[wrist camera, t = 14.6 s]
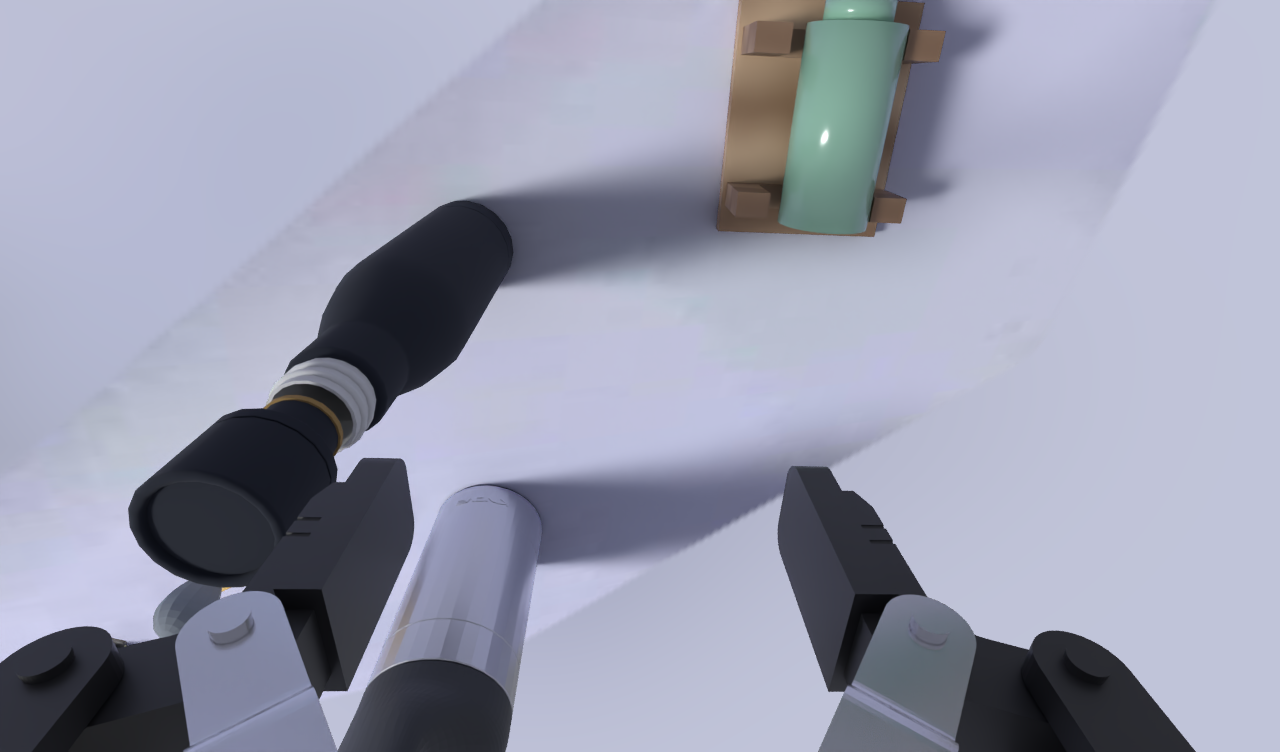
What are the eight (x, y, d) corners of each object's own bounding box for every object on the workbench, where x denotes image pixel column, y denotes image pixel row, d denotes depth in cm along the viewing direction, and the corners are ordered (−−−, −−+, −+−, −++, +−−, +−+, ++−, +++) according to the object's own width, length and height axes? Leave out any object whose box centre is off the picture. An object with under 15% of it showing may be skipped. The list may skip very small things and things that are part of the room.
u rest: (868, 233, 43) (898, 251, 38) (716, 227, 42) (728, 245, 38) (917, 4, 37) (958, -6, 32) (739, -6, 36) (756, -18, 32)
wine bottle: (526, 225, 42) (365, 483, 15) (495, 304, 44) (307, 649, 17) (437, 184, 40) (77, 386, 13) (409, 268, 43) (59, 582, 16)
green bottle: (840, 216, 41) (883, 234, 36) (764, 215, 40) (798, 233, 35) (896, -78, 34) (960, -104, 29) (806, -88, 33) (856, -117, 28)
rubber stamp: (280, 476, 50) (189, 583, 39) (326, 524, 53) (252, 637, 42) (190, 521, 52) (78, 635, 41) (238, 565, 54) (144, 685, 44)
